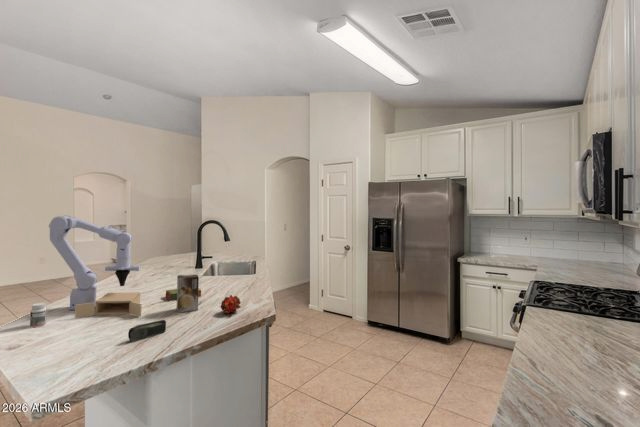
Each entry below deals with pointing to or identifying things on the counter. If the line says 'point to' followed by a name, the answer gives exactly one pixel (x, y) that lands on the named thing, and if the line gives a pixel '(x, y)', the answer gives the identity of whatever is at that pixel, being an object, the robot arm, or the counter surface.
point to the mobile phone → (146, 330)
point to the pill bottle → (38, 315)
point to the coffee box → (187, 292)
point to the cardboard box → (116, 303)
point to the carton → (173, 294)
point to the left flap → (84, 309)
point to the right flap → (135, 309)
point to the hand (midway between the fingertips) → (122, 285)
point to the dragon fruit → (230, 304)
